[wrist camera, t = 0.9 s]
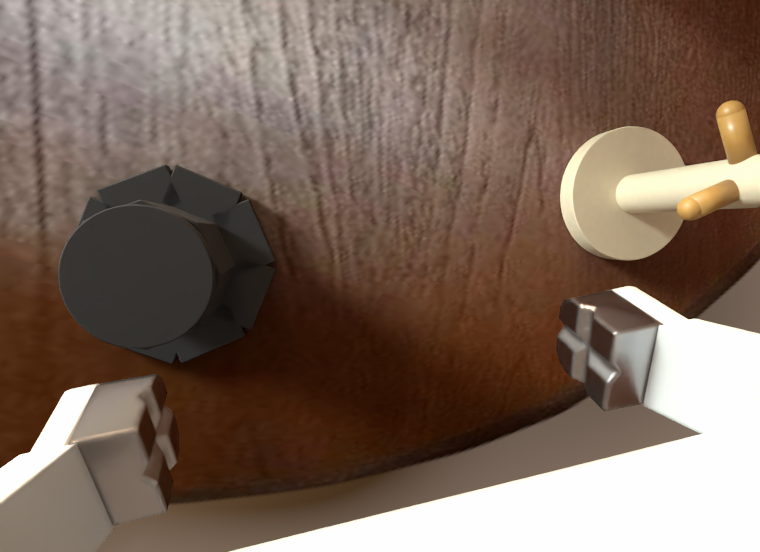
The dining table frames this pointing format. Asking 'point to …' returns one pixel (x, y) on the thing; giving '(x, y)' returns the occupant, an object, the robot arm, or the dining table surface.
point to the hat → (166, 265)
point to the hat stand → (653, 186)
